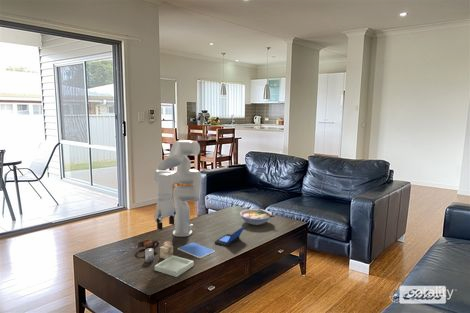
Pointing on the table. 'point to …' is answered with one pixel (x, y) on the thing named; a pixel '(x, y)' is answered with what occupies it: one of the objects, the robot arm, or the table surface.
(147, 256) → the grey canister
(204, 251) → the tablet computer
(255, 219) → the ramen bowl
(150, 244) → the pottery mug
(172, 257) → the tray
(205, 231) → the table surface
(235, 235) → the handheld game console
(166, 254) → the beech block
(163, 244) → the terracotta cube
